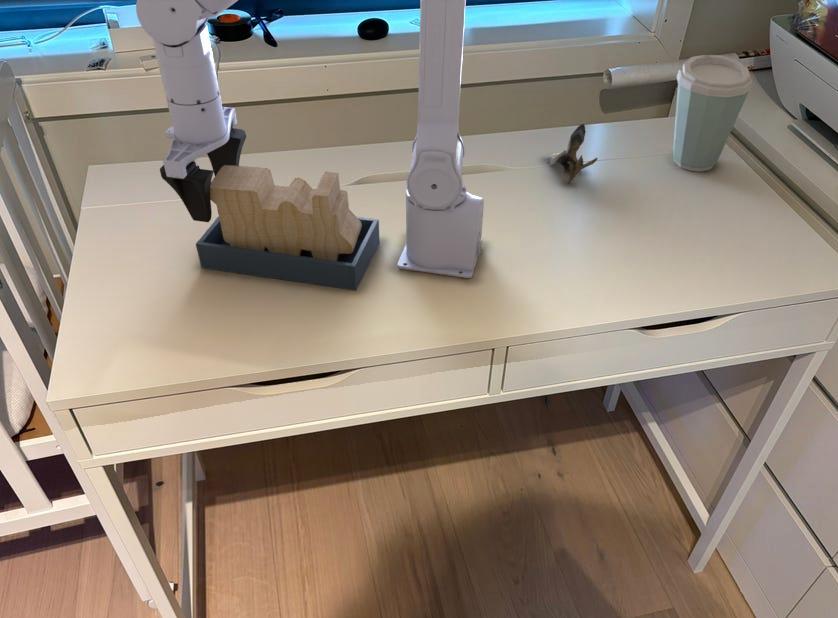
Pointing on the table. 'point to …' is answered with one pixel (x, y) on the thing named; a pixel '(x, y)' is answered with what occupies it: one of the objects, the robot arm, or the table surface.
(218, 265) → the open box
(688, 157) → the disposable coffee cup
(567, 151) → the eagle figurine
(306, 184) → the toy train
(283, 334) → the table surface
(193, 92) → the robot arm
